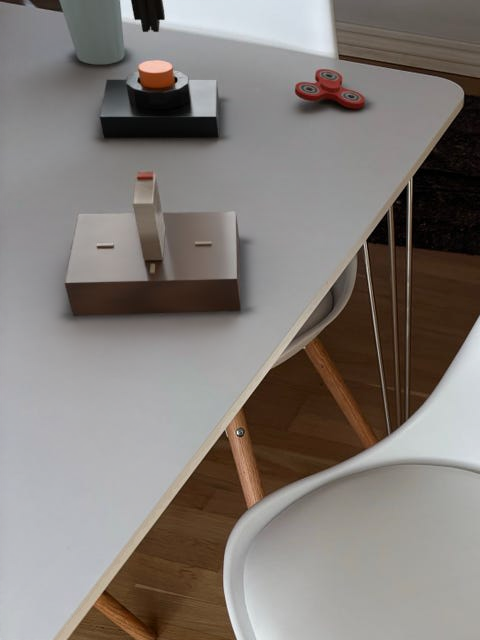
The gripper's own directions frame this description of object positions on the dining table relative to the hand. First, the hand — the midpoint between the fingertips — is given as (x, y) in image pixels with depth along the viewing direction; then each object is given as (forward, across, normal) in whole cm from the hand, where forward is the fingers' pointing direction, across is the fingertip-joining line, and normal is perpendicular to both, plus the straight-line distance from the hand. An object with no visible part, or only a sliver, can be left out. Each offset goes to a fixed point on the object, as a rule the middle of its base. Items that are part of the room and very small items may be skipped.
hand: (151, 26), depth 106 cm
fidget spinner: (+8, +19, +5) cm, 21 cm away
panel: (+9, +1, -34) cm, 35 cm away
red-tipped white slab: (+6, +1, -34) cm, 35 cm away
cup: (+9, -8, +18) cm, 22 cm away
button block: (+9, 0, 0) cm, 9 cm away
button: (+6, 0, 0) cm, 6 cm away
